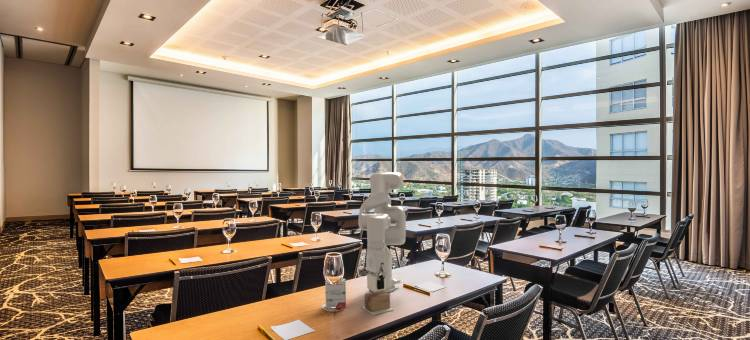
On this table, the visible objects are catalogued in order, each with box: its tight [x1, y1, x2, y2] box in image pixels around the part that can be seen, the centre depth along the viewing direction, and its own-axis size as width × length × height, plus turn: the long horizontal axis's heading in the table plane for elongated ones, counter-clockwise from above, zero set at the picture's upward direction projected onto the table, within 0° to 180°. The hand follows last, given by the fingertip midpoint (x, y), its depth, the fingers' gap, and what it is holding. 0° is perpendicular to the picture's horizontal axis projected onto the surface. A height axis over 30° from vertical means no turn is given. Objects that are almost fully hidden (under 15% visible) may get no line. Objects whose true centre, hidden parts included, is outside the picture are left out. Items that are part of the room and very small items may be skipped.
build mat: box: [361, 305, 394, 316], centre depth 170 cm, size 10×10×1 cm
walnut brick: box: [364, 290, 391, 312], centre depth 170 cm, size 6×9×6 cm, turn 121°
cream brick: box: [366, 273, 386, 292], centre depth 170 cm, size 6×6×6 cm
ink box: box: [324, 278, 347, 309], centre depth 174 cm, size 8×5×12 cm, turn 89°
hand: (376, 286), depth 170 cm, fingers closed on cream brick, 6 cm apart
